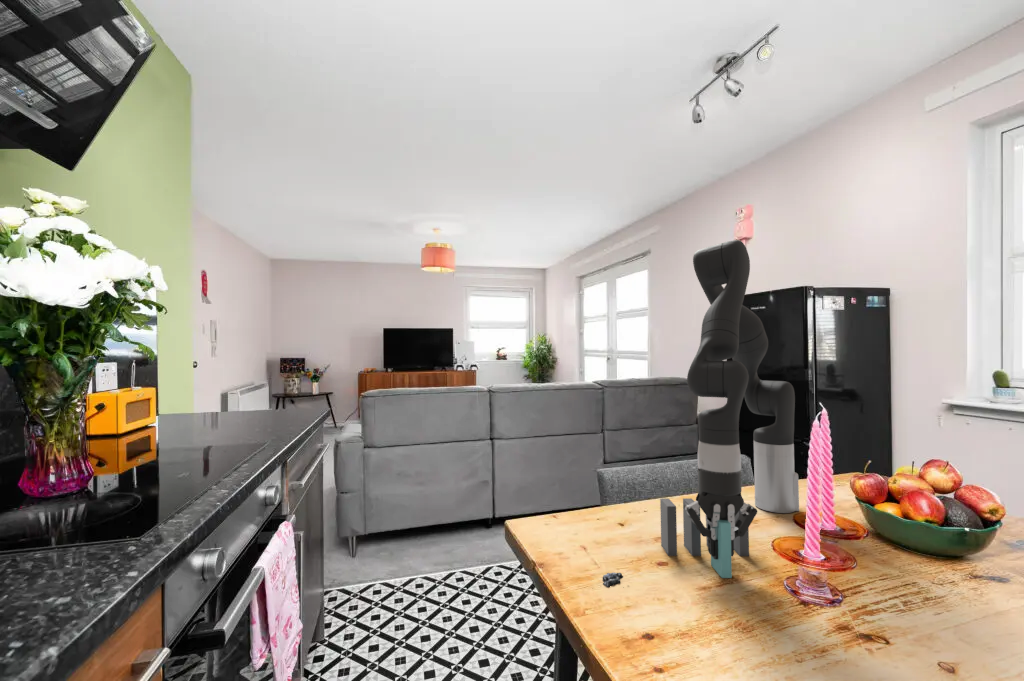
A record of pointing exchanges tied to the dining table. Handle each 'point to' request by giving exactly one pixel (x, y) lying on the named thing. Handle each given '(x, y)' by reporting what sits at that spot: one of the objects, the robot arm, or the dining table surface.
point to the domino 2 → (691, 532)
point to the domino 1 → (668, 526)
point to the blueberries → (612, 579)
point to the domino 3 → (741, 542)
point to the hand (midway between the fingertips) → (720, 557)
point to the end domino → (723, 550)
